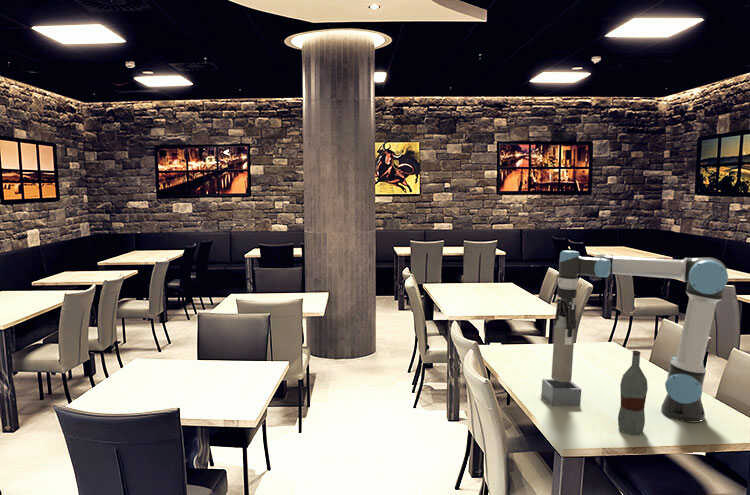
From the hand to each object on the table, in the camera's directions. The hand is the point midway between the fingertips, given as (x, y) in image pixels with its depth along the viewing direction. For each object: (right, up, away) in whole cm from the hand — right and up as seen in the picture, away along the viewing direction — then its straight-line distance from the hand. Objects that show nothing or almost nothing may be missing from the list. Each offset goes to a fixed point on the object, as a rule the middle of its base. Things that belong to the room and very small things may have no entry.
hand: (563, 341), depth 227 cm
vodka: (+16, -29, -25) cm, 42 cm away
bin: (-1, -25, +3) cm, 26 cm away
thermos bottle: (0, -16, +2) cm, 16 cm away
